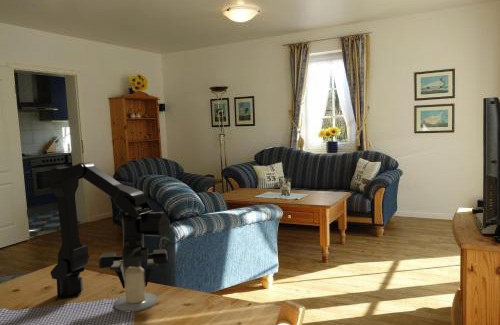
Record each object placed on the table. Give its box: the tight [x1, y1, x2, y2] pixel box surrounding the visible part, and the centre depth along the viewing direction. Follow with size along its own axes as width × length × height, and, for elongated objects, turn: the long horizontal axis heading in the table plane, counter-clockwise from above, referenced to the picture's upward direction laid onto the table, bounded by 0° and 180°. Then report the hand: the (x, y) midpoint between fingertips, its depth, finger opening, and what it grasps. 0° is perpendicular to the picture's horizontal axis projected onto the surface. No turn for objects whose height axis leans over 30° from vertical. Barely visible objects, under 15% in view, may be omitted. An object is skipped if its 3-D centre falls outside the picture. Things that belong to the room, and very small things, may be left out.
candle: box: [124, 265, 146, 303], centre depth 118 cm, size 6×6×10 cm
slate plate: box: [113, 292, 158, 313], centre depth 118 cm, size 12×12×1 cm
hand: (135, 287), depth 118 cm, fingers open, 6 cm apart
